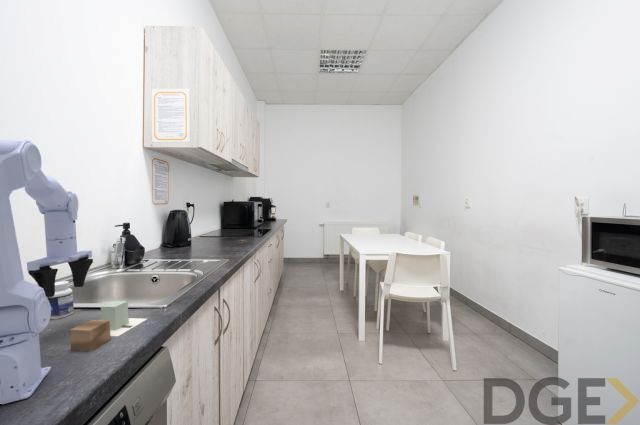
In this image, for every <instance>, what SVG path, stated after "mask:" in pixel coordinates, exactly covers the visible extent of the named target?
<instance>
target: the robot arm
mask: <svg viewBox="0 0 640 425" xmlns="http://www.w3.org/2000/svg"><path fill="white" fill-rule="evenodd" d="M41 168H42V154H41V152H40V150H39V148H38V147H37V145H36V144H34V143H33V142H32V141H30V140H28V139H27V140H26V139H25V140H10V139H9V140H7V139H0V404H2V405H5V404H9V403H13V402H16V401H21V400H25V399H28V398H30V397H31V396H32V395H33V393H34V392H35V391H36V389H37V388H38V387H39V386H40V385H41V383H42V382H43V380H44V379H45V377H46V376H47V374H48V373H49V372H50V371H51V369H52V366H46V367H42V363H41V362H42V361H41V351H40V350H41V348H40V347H41V346H40V333H41V332H42V331H44V330H45V329H46V328H47V326H48V324H49V323H50V320H51V319H50V316H51V306H50V303H49V301H48V297H53V296H54V294H55V283H56V277H57V274H58V271H59V269H58V268H52V267H53V266H58V265H62V264H65V263H68V266H69V268H70V271H71V275H72V283H73V284H72V285H73V287H74V288H83V287H84V285H85V281H86V278H87V274H88V271H89V270H90V268H91V266H92V264H93V263H94V259H93V252H92V250H82V251H78V241H77V225H76V220H78V210H79V199H78V198H79V197H78V196H77V194H76V193H74V192H72V191H67V190H66V188H64V187H63V186H62V185H61V184H60V183H59V181H58V180H57V179H56V178H55V177H53V176H51V175H45V173H44V172H43V171H42V169H41ZM22 188H24V191H25V193H26V194H27V195H28V196H29V197H31V199H33V200H34V201H35V204H36V207H37V208H38V212H40V214H41V215H43V218H44V219H43V220H44V221H43V222H44V234H45V248H46V251H45V252H46V256H45V257H42V258H39V259H35V260H32V261H27V262H26V268H27V270H26V271H27V273H28V275H29V276H31V278H33V279H34V281H35V282H36V283H37V284H34V283H31V282H29V281H28V280H25V277H24V273H23V266H22V265H23V264H22V262H21V261H22V259H21V256H20V255H21V254H20V249H19V245H18V239H17V233H16V227H15V222H14V217H13V211H12V205H11V204H12V203H11V200H10V196H11V194H12V193H13V191H16V190H20V189H22Z"/></svg>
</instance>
